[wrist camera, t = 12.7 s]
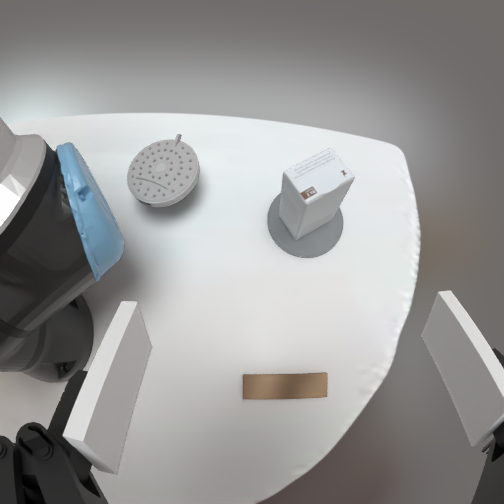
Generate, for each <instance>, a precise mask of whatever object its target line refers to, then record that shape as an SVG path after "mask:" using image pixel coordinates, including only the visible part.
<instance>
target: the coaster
mask: <svg viewBox="0 0 504 504" xmlns="http://www.w3.org/2000/svg"><path fill="white" fill-rule="evenodd" d="M280 198H281V193H280V194H279V195H278V196H277V197H276V198H275V199H274V201H273V202H272V204H271V206H270V209H269V212H268V227H269V231H270V234H271V236H272V238H273V240H274V241H275V242H276V244H277V245H278V246H279V247H280V248H282V249H283V250H284V251H286V252H287V253H289V254H292V255H294V256H297V257H304V258H311V257H317V256H320V255H323V254H324V253H326V252H328V251H329V250H331V249H332V248H333V247H334V246H335V244H336V243H337V242H338V240H339V238H340V236H341V234H342V230H343V216H342V213H341V210H340V208H338V210H337V212H336V214H335V215H334V217H333V219H332V220H331V221H329V222H328V223H326V224H324V225H323V226H321V227H319V228H317V229H316V230H314V231H312V232H311V233H309V234H307V235H305V236H304V237H302V238H300V239H298V240H297V241H295V240H294V239H293V237H292V236H291V234H290V232H289V231H288V229H287V228H286V226H285V225H284V223H283V222H282V220H281V219H280V217H279V207H280Z"/></svg>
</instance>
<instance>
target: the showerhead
mask: <svg viewBox="0 0 504 504" xmlns="http://www.w3.org/2000/svg"><path fill="white" fill-rule="evenodd" d="M180 139H181V134H177V136H176V139H175V140H163V141H158V142H155V143H153V144H151V145H149V146H147V147H146V148H144V149H143V150H142V151H141V152H140V153H138V155H137V156H136V157H135V158H134V160H133V161H132V163H131V165H130V167H129V170H128V175H127V182H128V186H129V189H130V191H131V193H132V194H133V195H134V196H135V197H136V198H137V199H138V200H139V201H140V202H141V203H143V204H145V205H147V206H150V207H166V206H170V205H173V204H175V203H177V202H179V201H181V200H182V199H184V198H185V197H186V196H187V195H188V194H189V193H190V192H191V191H192V190H193V188H194V187H195V185H196V183H197V181H198V178H199V173H200V167H199V162H198V158H197V155H196V153H195V152H194V150H193V149H192V148H191V147H190V146H189V145H187V144H186V143H184V142H181V141H180Z"/></svg>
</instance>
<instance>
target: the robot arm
mask: <svg viewBox="0 0 504 504" xmlns="http://www.w3.org/2000/svg"><path fill="white" fill-rule="evenodd" d="M123 251H124V239H123V236H122V233H121V231H120V229H119V226H118V224H117V222H116V220H115V218H114V216H113V214H112V212H111V210H110V208H109V206H108V204H107V202H106V200H105V198H104V196H103V194H102V192H101V191H100V189H99V187H98V185H97V183H96V181H95V179H94V177H93V176H92V174H91V172H90V170H89V168H88V166H87V165H86V163H85V161H84V159H83V158H82V156H81V154H80V153H79V151H78V150H77V149H76V148H75V146H74V145H73V144H72V143H70V142H68V143H65V144H64V145H59V146H57V149H56V151H53V150H52V149H51V148H50V147H49V145H48V144H47V143H46V142H45V140H44V139H43V138H42V137H41V136H40V135H36V134H32V135H21V136H18V135H14V134H13V133H12V131H11V130H10V129H9V128H8V126H7V125H6V124H5V123H4V121H3V120H2V119H1V118H0V372H8V371H21V372H23V373H25V374H27V375H30V376H32V377H34V378H36V379H39V380H41V381H44V382H63V381H67V380H69V381H68V383H67V385H66V388H65V392H63V394H62V397H61V401H59V404H58V406H57V408H56V411H55V413H54V415H53V418H52V420H51V423H50V425H49V428H48V430H46V429H45V428H44V427H43V426H42V425H41V424H39V423H35V422H31V423H27V424H25V425H24V426H22V427H21V428H20V430H19V431H18V433H17V436H16V443H12V442H11V441H10V440H9V439H8V438H6V437H5V436H0V504H108V502H107V500H106V498H105V497H104V495H103V493H102V491H101V489H100V488H99V486H98V484H97V482H96V480H95V478H94V476H93V474H92V473H91V472H90V470H91V466H92V465H93V466H94V467H96V468H97V469H98V470H100V471H104V472H108V473H112V474H117V473H118V469H119V464H120V460H121V456H122V452H123V448H124V444H125V440H126V436H127V432H128V429H129V425H130V421H131V417H132V414H133V410H134V407H135V403H136V399H137V396H138V393H139V389H140V386H141V382H142V379H143V376H144V372H145V369H146V366H147V362H148V359H149V356H150V353H151V350H152V345H151V342H150V339H149V336H148V333H147V330H146V326H145V323H144V320H143V317H142V314H141V310H140V307H139V303H138V302H135V301H122V302H121V304H120V306H119V308H118V310H117V312H116V314H115V316H114V318H113V320H112V322H111V324H110V326H109V328H108V330H107V332H106V334H105V336H104V338H103V340H102V343H101V345H100V347H99V349H98V351H97V353H96V355H95V358H94V360H93V362H92V364H91V367H90V369H89V371H83V370H82V369H83V368H84V366H85V364H86V363H87V361H88V358H89V356H90V353H91V349H92V343H93V324H92V319H91V315H90V311H89V308H88V306H87V304H86V302H85V300H84V298H83V297H82V295H81V293H82V292H84V291H85V290H86V289H88V288H89V287H90V286H91V285H93V284H94V283H95V282H98V281H99V280H100V279H101V276H102V275H103V274H104V273H105V272H107V271H108V270H109V269H110V268H111V267H112V266H113V265H114V264H116V263H117V262H118V261H119V260H120V258H121V256H122V254H123ZM421 337H422V339H423V340H424V342H425V344H426V346H427V348H428V350H429V352H430V354H431V356H432V358H433V360H434V362H435V364H436V366H437V368H438V370H439V372H440V374H441V376H442V378H443V380H444V383H445V385H446V387H447V389H448V391H449V394H450V396H451V398H452V400H453V402H454V405H455V407H456V409H457V412H458V414H459V416H460V419H461V421H462V423H463V426H464V428H465V431H466V433H467V436H468V438H469V441H470V443H471V446H473V445H475V444H478V443H480V442H483V441H485V440H486V439H487V438H488V437H489V436H490V435H491V434H492V433H493V434H494V438H493V440H491V441H490V442H489V443H488V444H487V445H486V446H485V447H484V448H483V450H482V452H484V451H486V450H487V449H488V448H489V447H490V448H489V451H488V452H487V453H486V454H488V455H487V459H486V462H485V466H484V469H483V472H482V475H481V478H480V481H479V484H478V487H477V490H476V492H475V495H474V498H473V500H472V503H471V504H504V356H503V355H502V354H501V353H500V352H499V351H497V350H496V349H495V348H494V349H491V348H490V346H489V345H488V343H487V342H486V340H485V338H484V337H483V335H482V334H481V332H480V331H479V329H478V328H477V327H476V325H475V324H474V322H473V321H472V319H471V318H470V316H469V315H468V314H467V312H466V311H465V309H464V308H463V307H462V305H461V304H460V303H459V301H458V300H457V299H456V297H455V296H454V295H453V293H452V292H451V291H442V292H438V293H437V296H436V299H435V302H434V304H433V307H432V310H431V313H430V315H429V318H428V320H427V323H426V325H425V328H424V330H423V333H422V335H421Z"/></svg>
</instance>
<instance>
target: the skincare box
mask: <svg viewBox="0 0 504 504" xmlns="http://www.w3.org/2000/svg"><path fill="white" fill-rule="evenodd" d="M354 178H355V177H354V175H353V174H352V173H351V172H350V170H349V169H348V168H347V167H346V165H345V164H344V163H343V162H342V161H341V159H340V158H339V157H338V156H337V155H336V153H335V152H334V151H333V150H332V149H331V148H329V149H327V150H325V151H323V152H321V153H319V154H317V155H315V156H313V157H311V158H309V159H307V160H305V161H303V162H302V163H300V164H298V165H296V166H294V167H292V168H290V169H288V170H286V171H284V172H283V179H282V190H281V198H280V207H279V217H280V219H281V220H282V222H283V223H284V225H285V226H286V228H287V229H288V231H289V232H290V234H291V236H292V237H293V239H294V240H295V241H297V240H298V239H300V238H302V237H304V236H305V235H307V234H309V233H311V232H312V231H314V230H316V229H317V228H319V227H321V226H323V225H324V224H326V223H328V222H329V221H331V220H332V219H333V217H334V215H335V214H336V212H337V210H338V208H339V206H340V204H341V202H342V201H343V199H344V197H345V195H346V193H347V191H348V190H349V188H350V186H351V184H352V182H353V180H354Z"/></svg>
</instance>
